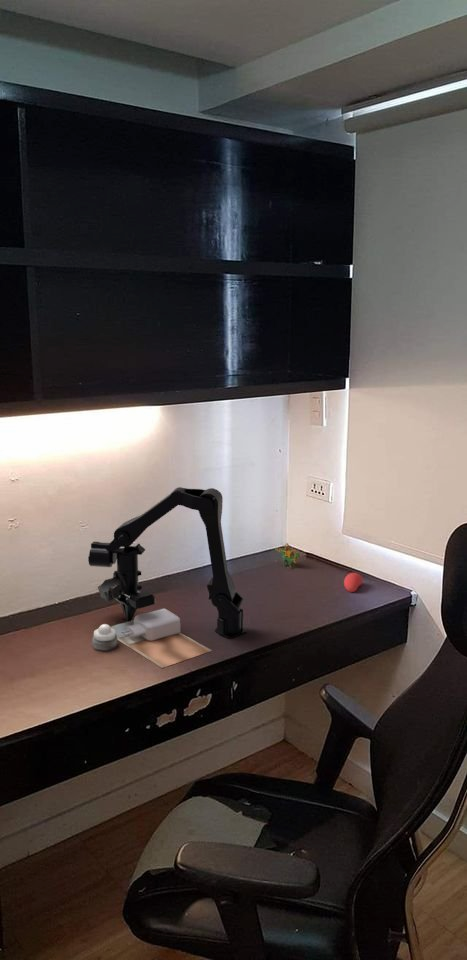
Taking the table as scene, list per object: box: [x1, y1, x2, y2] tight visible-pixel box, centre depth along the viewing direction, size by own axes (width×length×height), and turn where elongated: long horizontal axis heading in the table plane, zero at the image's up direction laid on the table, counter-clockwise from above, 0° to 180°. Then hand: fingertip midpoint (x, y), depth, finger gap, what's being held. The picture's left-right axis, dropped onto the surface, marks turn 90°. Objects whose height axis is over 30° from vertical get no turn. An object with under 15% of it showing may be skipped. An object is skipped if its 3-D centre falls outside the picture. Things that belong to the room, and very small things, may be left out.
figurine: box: [274, 543, 301, 570], centre depth 258 cm, size 3×12×8 cm, turn 42°
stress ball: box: [343, 572, 364, 593], centre depth 238 cm, size 5×9×6 cm, turn 143°
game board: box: [92, 619, 213, 669], centre depth 197 cm, size 23×29×2 cm
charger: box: [121, 608, 181, 641], centre depth 202 cm, size 5×9×15 cm
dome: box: [93, 623, 116, 641], centre depth 195 cm, size 6×6×3 cm
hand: (128, 621), depth 209 cm, fingers closed
